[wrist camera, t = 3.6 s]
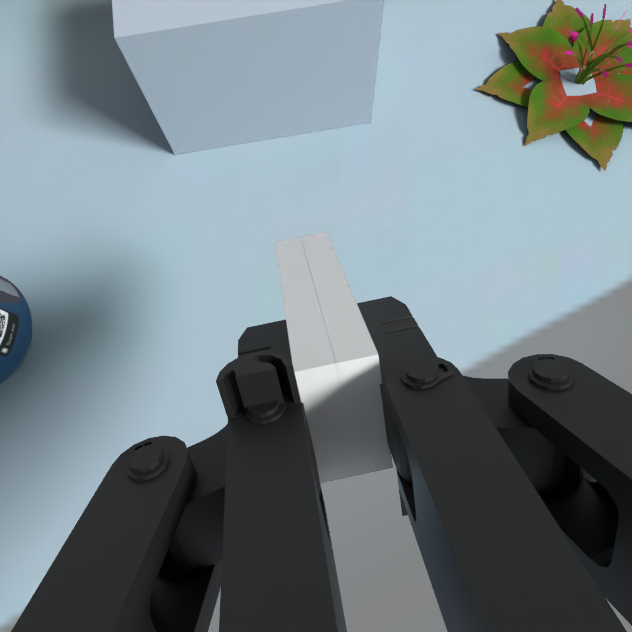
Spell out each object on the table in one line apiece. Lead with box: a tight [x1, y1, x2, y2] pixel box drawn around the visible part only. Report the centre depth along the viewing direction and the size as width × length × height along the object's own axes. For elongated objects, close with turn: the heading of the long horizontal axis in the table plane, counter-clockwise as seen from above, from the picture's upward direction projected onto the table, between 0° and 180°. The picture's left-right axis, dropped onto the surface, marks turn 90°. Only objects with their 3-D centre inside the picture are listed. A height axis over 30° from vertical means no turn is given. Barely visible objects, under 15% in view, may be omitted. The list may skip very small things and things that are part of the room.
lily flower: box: [476, 0, 632, 170], centre depth 30 cm, size 12×12×5 cm
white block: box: [112, 0, 384, 155], centre depth 28 cm, size 12×8×9 cm, turn 99°
